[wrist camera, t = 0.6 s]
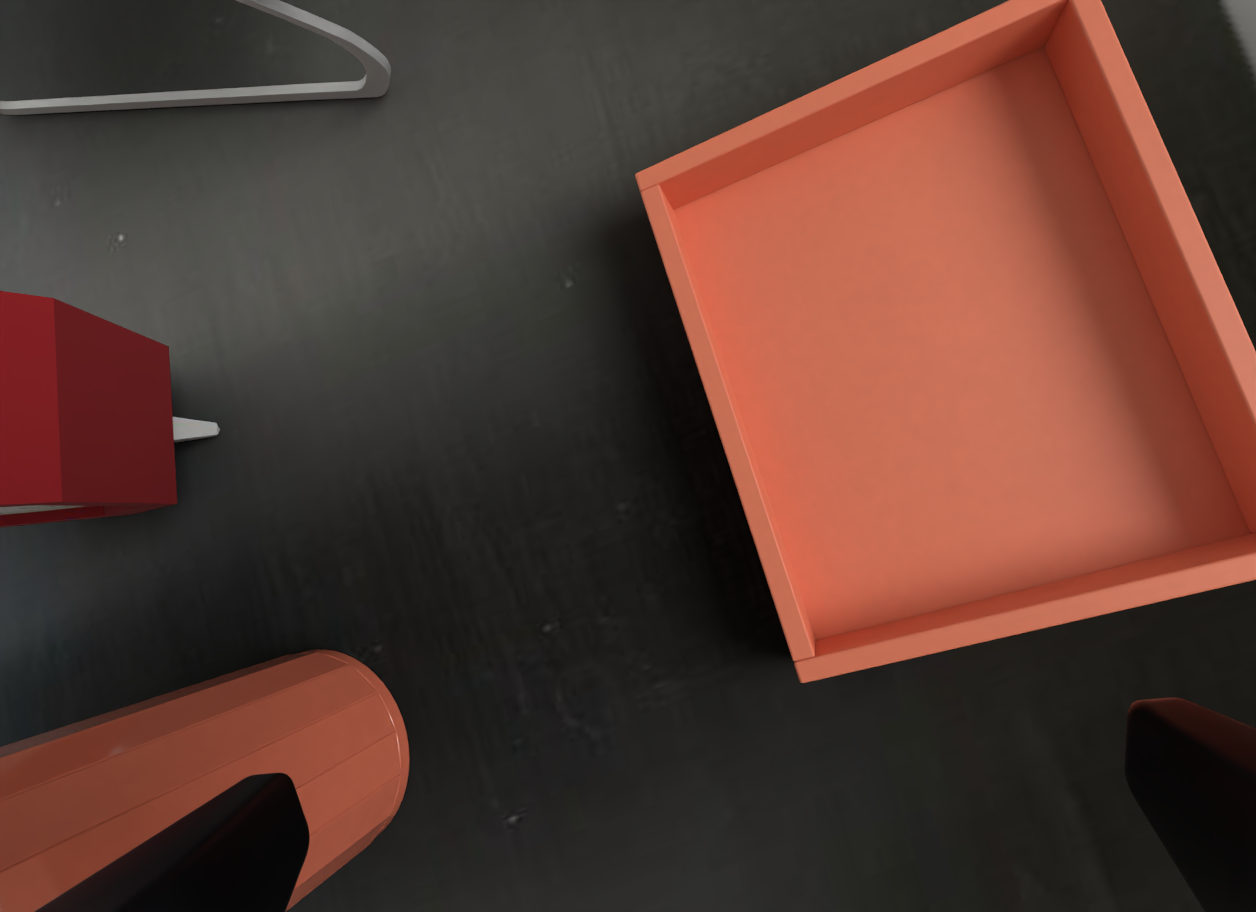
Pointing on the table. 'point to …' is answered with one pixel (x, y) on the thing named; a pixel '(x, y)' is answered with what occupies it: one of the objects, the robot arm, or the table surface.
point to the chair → (269, 3)
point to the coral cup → (204, 770)
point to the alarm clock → (83, 416)
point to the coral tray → (965, 344)
